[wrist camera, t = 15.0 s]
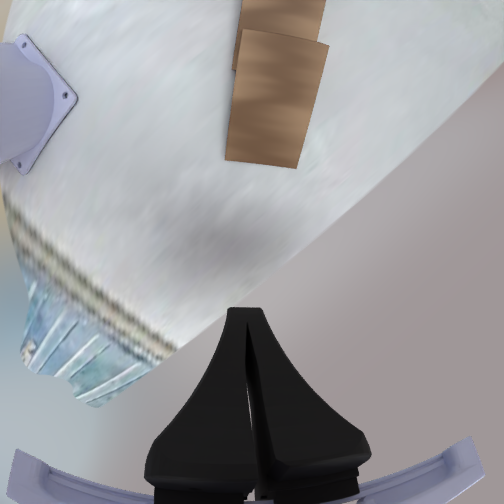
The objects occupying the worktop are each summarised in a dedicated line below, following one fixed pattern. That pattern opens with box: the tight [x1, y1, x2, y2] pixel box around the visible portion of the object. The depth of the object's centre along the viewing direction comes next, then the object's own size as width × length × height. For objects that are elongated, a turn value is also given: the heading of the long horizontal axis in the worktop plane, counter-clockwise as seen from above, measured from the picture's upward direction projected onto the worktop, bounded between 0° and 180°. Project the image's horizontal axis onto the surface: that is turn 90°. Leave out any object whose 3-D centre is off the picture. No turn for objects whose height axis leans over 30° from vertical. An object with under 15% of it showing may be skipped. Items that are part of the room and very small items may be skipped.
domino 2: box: [225, 29, 329, 169], centre depth 14 cm, size 4×2×8 cm
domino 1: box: [232, 0, 326, 70], centre depth 11 cm, size 4×2×8 cm
